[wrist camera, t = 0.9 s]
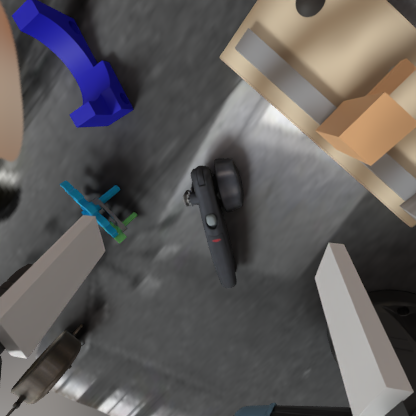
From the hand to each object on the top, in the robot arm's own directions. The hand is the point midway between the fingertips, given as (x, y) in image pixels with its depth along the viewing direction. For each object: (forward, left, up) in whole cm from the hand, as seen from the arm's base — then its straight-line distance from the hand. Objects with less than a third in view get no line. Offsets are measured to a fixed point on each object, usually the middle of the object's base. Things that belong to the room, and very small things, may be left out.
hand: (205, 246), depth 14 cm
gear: (+12, +16, -19) cm, 28 cm away
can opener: (-2, +7, -19) cm, 20 cm away
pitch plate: (-4, -15, -18) cm, 24 cm away
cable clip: (+22, +2, -19) cm, 29 cm away
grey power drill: (+3, +47, -19) cm, 51 cm away
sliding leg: (-4, -13, -16) cm, 22 cm away
